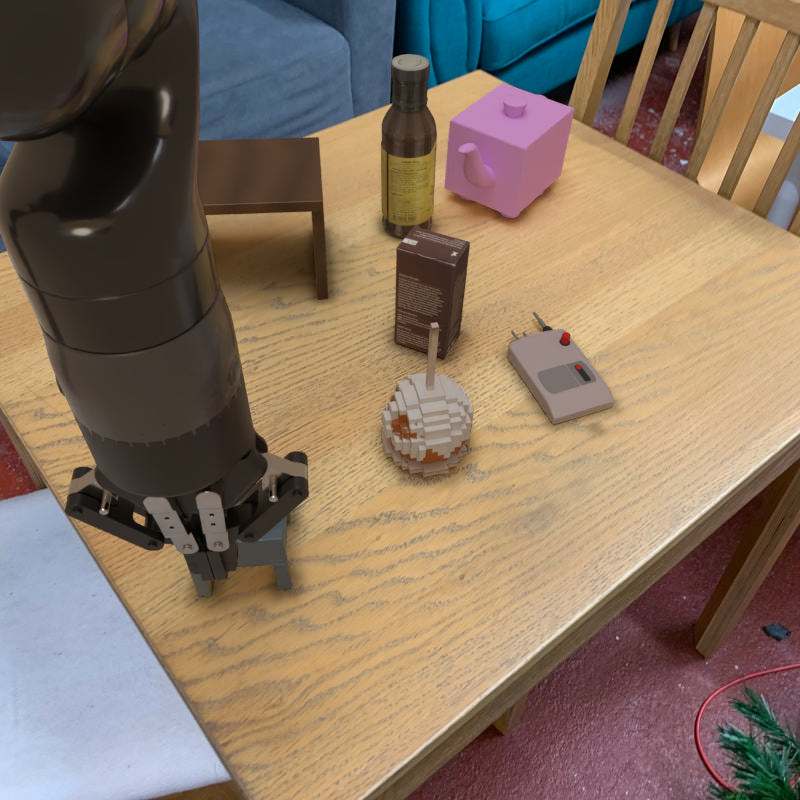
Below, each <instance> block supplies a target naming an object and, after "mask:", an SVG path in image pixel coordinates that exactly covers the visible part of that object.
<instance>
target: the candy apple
mask: <svg viewBox="0 0 800 800" xmlns="http://www.w3.org/2000/svg"><path fill="white" fill-rule="evenodd" d="M438 334H439V325H438V323H437V322H436V323H430V335H429V348H428V353H427V361H426V362H427V363H426V365H427V366H426V372H420V373H413V374H407V375H406V378H405V379H404V380H398V381H395V385H394V389H393V390H394V391H393V392H394V393H393V394H390V395H389V402H388V404H384V410H381V416H380V417H381V418H380V419H381V422H382V431H383V433H382V434H381V435H380V440H381V443H382V447H383V451H384V454H385V458H391V457H392V460H393V465H394V466H395V467H397V466H401V470H402V471H404V470H408V471H409V474H410V475H412V474H418V473H422V476H423V478H424V477H431V476H436V475H442V474H447V473H449V468H453V467H458V466H459V464H460V461H463V459H464V455H467V454H468V449H467V446H466V445H469V444H470V441H471V440H470V434H471V430H472V427H473V421H474V414H475V411H474V408H473V405H472V403H471V401H470V398H469V395H468V393H465V390H464V387H463V385H460V386H459V385H458V383H457V382H455V381H454V378H453V377H449V375H448V374H445V373H443V374H438V375H437V373H436V366H437V357H438V356H437V345H438Z"/></svg>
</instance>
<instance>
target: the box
mask: <svg viewBox="0 0 800 800" xmlns="http://www.w3.org/2000/svg"><path fill="white" fill-rule="evenodd" d="M470 247H471V242H470V241H468V240H464V239H461V238H457V237H453V236H450V235H446V234H443V233H439V232H436V231H432V230H430V229H429V230H426V229H422V228H419V227H416V226H414V227H413V228H412V230H411V231H410V232H409V233H408V235H407V236H406V237H405V238H403V240H401V242H400V243H399V244H398V245H397V246H396V251H395V253H396V255H395V256H396V257H395V259H396V260H395V262H396V263H395V265H396V266H395V305H394V307H395V308H394V333H393V334H394V337H393V340H394V343H395V344H399V345H402V346H405V347H409V348H411V349H414V350H417V351H420V352H423V353H426V354H428V348H429V335H430V323H436V322H437V323H438V325H439V334H438V345H437V357H438V358H441V359H444V360H445V359H447V357H448V356H449V354H450V353H451V351H452V350H453V348H454V346H455V344H456V343H457V341H458V339H459V337H460V336H461V328H462V320H463V309H464V300H465V293H466V284H467V275H468V274H467V273H468V264H469V258H470V257H469V255H470Z"/></svg>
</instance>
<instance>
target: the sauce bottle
mask: <svg viewBox="0 0 800 800" xmlns="http://www.w3.org/2000/svg"><path fill="white" fill-rule="evenodd" d="M430 74H431V64H430V61H429V60H428V59H427V57H425V56H423V55H419V54H412V53H407V54H406V53H405V54H400V55H397V56H394V57H393V58H392V59H391V61H390V76H391V79H392V94H391V105H390V107H389V108H388V110H387V111H386V112H385V114H384V116H383V118H382V121H381V142H380V185H381V186H380V188H381V191H380V192H381V193H380V195H381V215H382V218H381V221H382V225H383V228H384V229H385V231H386V232H387V233H388V234H390V235H391V236H393V237H394V236H395V237H398V238H403V239H404V238H405V237H406V236H407V235H408V233H409V232H410V231H411V230H412V228H413V227H414V226H416V227H419V228H422V229H426V230H429V231H430V228H431V225H432V224H433V223H432V222H433V214H434V208H435V184H436V183H435V181H436V165H437V164H436V163H437V159H436V158H437V142H438V131H437V123H436V119H435V117H434V115H433V113H432V112H431V110H430V108H429V106H428V101H429V97H428V90H429V87H428V86H429V85H428V82H429V77H430Z"/></svg>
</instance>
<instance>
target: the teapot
mask: <svg viewBox="0 0 800 800" xmlns="http://www.w3.org/2000/svg"><path fill="white" fill-rule="evenodd" d="M575 110H576V109H575V108H574V107H573V106H569V105H566V104H563V103H560V102H558V101H555V100H552V99H549V98H547V96H545V95H542V94H536V93H532V92H529V91H527V90H523V89H521V88H517V87H515V86H512V85H509V84H506V83H504V82H503V83H501V84H499V85H497V86H496V87H495V88H493V89H492V90H491V91H489V92H488V93H486V94H484V95H483V96H481V98H479V99H477V100H476V101H475V102H473V103H472V104H471V105H469V106H468V107H466V108H465V109H464V110H462V111H461V112H459V113H457V115H455V116H454V117H453V118H452V119H450V120H449V127H448V138H447V139H448V140H447V152H446V163H445V174H444V188H443V189H445V190H447V191H450V192H452V193H455V194H457V195H458V196H459V197H460V198H461V199H463V200H466V201H473V202H476V203H477V204H480V205H483V206H485V207H488V208H489V209H492V210H494V211H497V212H499V213H500V215H501V216H502V217H505V218H508V219H514V218H518V217H519V216H520V215H521V212H522V211H523V210H524V209H526V207H528V206H529V205H530V204H531V203H532V202H533V201H535V199H537V198H538V197H539V196H541V195H543V194H544V193H545V190H547V188H549V187H550V186H551V185H552V184H553V183H554V182H555V181H556V180H557V179H559V177H561V175H562V171H563V167H564V161H565V157H566V154H567V153H566V152H567V148H568V144H569V143H568V142H569V137H570V133H571V128H572V124H573V119H574V114H575Z"/></svg>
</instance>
